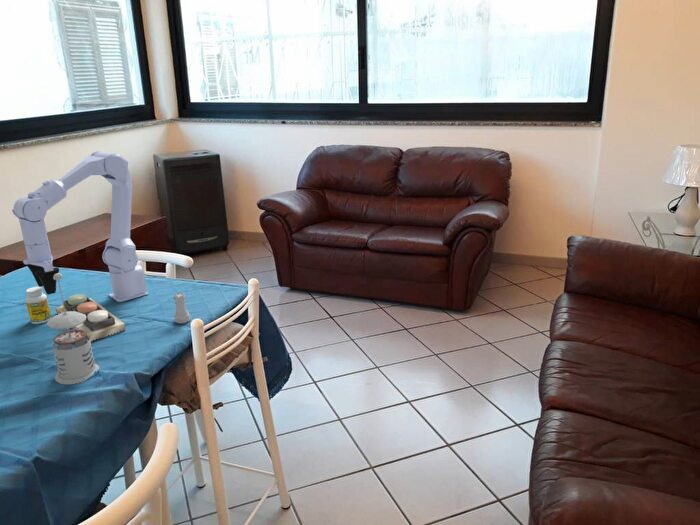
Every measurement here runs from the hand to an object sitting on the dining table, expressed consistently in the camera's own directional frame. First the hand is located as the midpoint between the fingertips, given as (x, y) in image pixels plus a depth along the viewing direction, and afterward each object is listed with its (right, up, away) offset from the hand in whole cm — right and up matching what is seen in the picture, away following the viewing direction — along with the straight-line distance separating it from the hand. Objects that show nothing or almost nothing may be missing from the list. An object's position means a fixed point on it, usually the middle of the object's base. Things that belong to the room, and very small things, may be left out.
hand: (47, 289), depth 158 cm
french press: (+19, -18, -22) cm, 34 cm away
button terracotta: (+10, -6, +3) cm, 12 cm away
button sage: (+5, -4, +8) cm, 10 cm away
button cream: (+15, -8, -3) cm, 18 cm away
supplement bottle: (-4, -9, +5) cm, 11 cm away
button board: (+10, -9, +4) cm, 14 cm away
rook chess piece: (+36, -9, +3) cm, 38 cm away
